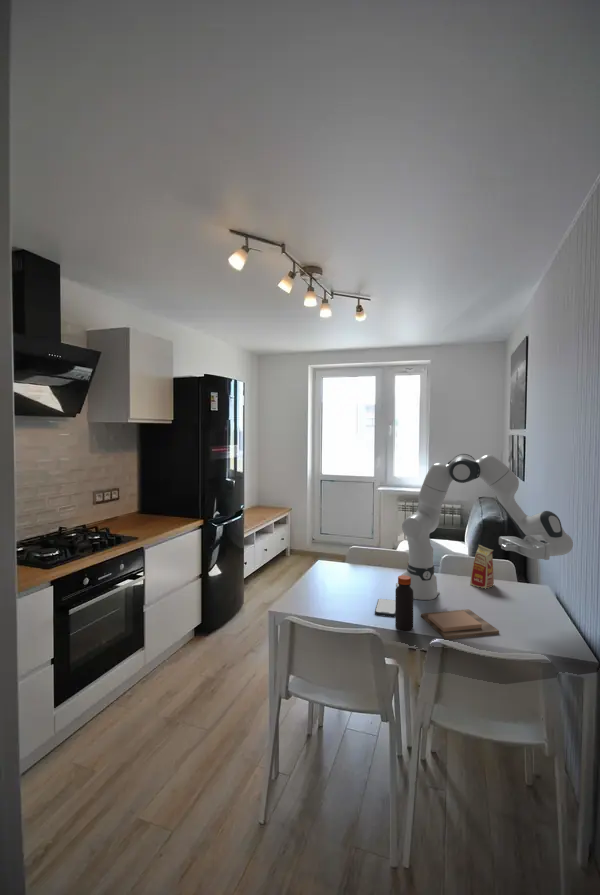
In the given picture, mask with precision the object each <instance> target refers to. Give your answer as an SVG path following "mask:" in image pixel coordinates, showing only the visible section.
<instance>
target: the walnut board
mask: <svg viewBox="0 0 600 895" xmlns="http://www.w3.org/2000/svg"><path fill="white" fill-rule="evenodd" d="M460 611H464V612H466V613H467V614H469V615H470V616H471V617H473V618H474V619H475V620H477V621H478V622H479V623H481V624H482V628H478V629H469V630H459V631H449V632H443V631H442V630H441V629H439V628H438V627H437V626H436V625H435V624H434V623H433V622H432V621H431V620H429V619H428V614H439V613H450V612H460ZM420 617H421V618H422V619H423V620H424V621H425V622H426V623H427V624H428V625H429V626H431V627H432V628H433V630H435V631H436V632H437V633H439V635H440V636H441V637H443V639H445V640H453V639H460V638H461V639H464V638H473V637H474V638H475V637H481V636H482V637H483V636H492V635H499V634H500V630H499V629H498V628H496V627H495V626H493V625H492V624H491V623H489V622H488V621H487V620H485V619H484V618H482V617H481V616H480V615H478V614H477V613H475V612H474V611H472V610H471V609H465V608H464V609H456V610H445V611H436V612H423V613H420Z"/></svg>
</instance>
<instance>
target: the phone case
mask: <svg viewBox="0 0 600 895" xmlns="http://www.w3.org/2000/svg"><path fill="white" fill-rule="evenodd" d="M376 614H377V615H376ZM374 615H376V616H380V615H385V616H384V617H389V616H391V617H392V618H395V617H394V616H395V599H387V598H386V599H385V598H379V599H377V602H376V605H375V609H374ZM391 617H390V618H391Z"/></svg>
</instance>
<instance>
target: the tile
mask: <svg viewBox="0 0 600 895" xmlns="http://www.w3.org/2000/svg"><path fill="white" fill-rule="evenodd" d="M428 619H429V620H431V621H432V622H433V623H434V624H435V625H436V626H437V627H438V628H439V629H441V630H442V631H443V632H449V631H459V630H469V629H478V628H482V624H481V623H479V622H478V621H477V620H475V619H474V618H473V617H471V616H470V615H469V614H467V613H466V612H464V611H460V612H450V613H439V614H428Z"/></svg>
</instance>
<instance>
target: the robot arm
mask: <svg viewBox="0 0 600 895" xmlns="http://www.w3.org/2000/svg"><path fill="white" fill-rule="evenodd" d="M478 478H480V479H482V480H483V481H484V482H485V483H486V484H487V485H488V486H489V488H490V489H491V490H492V491H493V493H494V495H495V498H496V500H497V502H498V504H499V506H500V507H501V508H502V509H503V510H504V512H505V513H506V515H507V516H508V517H509V519H511V521H512V522H513V523H514V525H515V527H516V528H517V530H518V532H519V534H520V536H522V538H520V537H517V536H510V535H507V536H506V535H505V536H502V535H501V536H499V537H498V545H499V546H500V549H502V550H504V551H506V552H507V551H508V552H509V551H510V552H515V553H517V554H519V555H522V556H524V557H527V558H528V559H533V560H544V561H549V560H550V557H558V556H559V557H560V556H565V555H567V554H569V553H570V552H572V550H573V546H574V542H573V541H574V540H573V538H572V537H571V536H570V535H569V534H568V533H566V531H565V530H564V528H563V527H562V523H561V522H562V521H561V519H560V518H559V516H558V515H557V514H555V513H554V512H553V511H549V510H544V511H541V512H538V513H536V514H534V515H530V516H529V515H527V514H526V512H524V511H523V509H522V508H521V506H519V504H518V502H517V501H516V500H515V494H516V493H517V491H518V490H519V485H520V481H519V478H518V477H517V475H516V474H515V472H513V471H512V469H510V468H509V466H507V465H506V464H505V463H504V462H503V461H502V460H499V458H498V457H496V456H495V455H492V454H485V455H482V456H481V457H479V458H478V459H475V458H474V457H473V456H472V455H470V454H466V453H461V454H457V455H456V456H454V457H453V458H452V459H451V460H449V461H448V463H443V462H435V463H433V464H432V465H431V467H430V468H429V469H428V472H427V473H426V475H425V477H424V480H423V482H422V484H421V485H422V486H421V488H420V491H419V494H418V496H417V500H418V505H417V506H418V507H417V510H416V511H415V513H412V514H410V515H409V516H407V517H406V518H405V519H404V520H403V522H402V526H401V529H402V532H403V533H404V535H405V536H406V537H405V538H406V542H407V545H408V562H407V563H406V565H407V566H406V568H407V569H406V570H405V571H404V572H402V574H401V575H406V576H409V577H411V585H410V587H411V588H412V589H413V600H414V599H415V600H419V601H420V600H421V601H428V600H433V599H436V598H437V596H438V595H440V590H439V589H438V579H437V576H436V575H435V565H434V548H433V546H432V544H431V539H430V534H431V533H433V532H435V530H436V529H437V528H438V527H439V525H440V516H441V510H442V507H443V503H444V501H445V497H446V495H447V492H448V490H449V487H450V484H451V483H452V481H455V482H456V483H459V484H466V483H469V482H471V481H474V480H476V479H478ZM396 586H397V587H398V586H399V584H398V582H397V583H395V587H396ZM397 587H396V588H397Z"/></svg>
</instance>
